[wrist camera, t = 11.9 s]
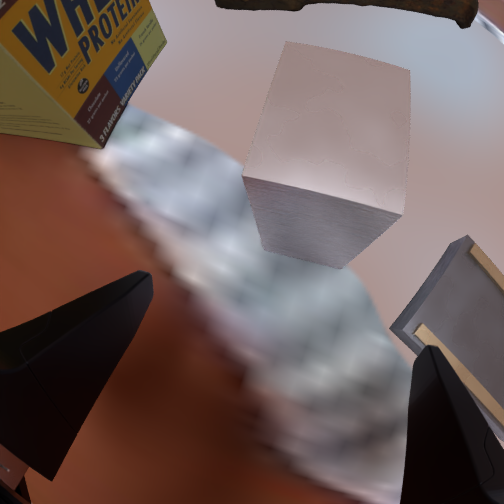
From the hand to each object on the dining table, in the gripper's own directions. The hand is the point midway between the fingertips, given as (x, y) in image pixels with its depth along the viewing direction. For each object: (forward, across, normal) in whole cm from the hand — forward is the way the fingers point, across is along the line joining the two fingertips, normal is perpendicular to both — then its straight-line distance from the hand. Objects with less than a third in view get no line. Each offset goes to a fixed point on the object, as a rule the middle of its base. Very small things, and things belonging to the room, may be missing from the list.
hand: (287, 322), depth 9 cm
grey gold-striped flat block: (+5, -12, +4) cm, 14 cm away
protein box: (+14, +21, -4) cm, 25 cm away
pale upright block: (+8, 0, 0) cm, 9 cm away
